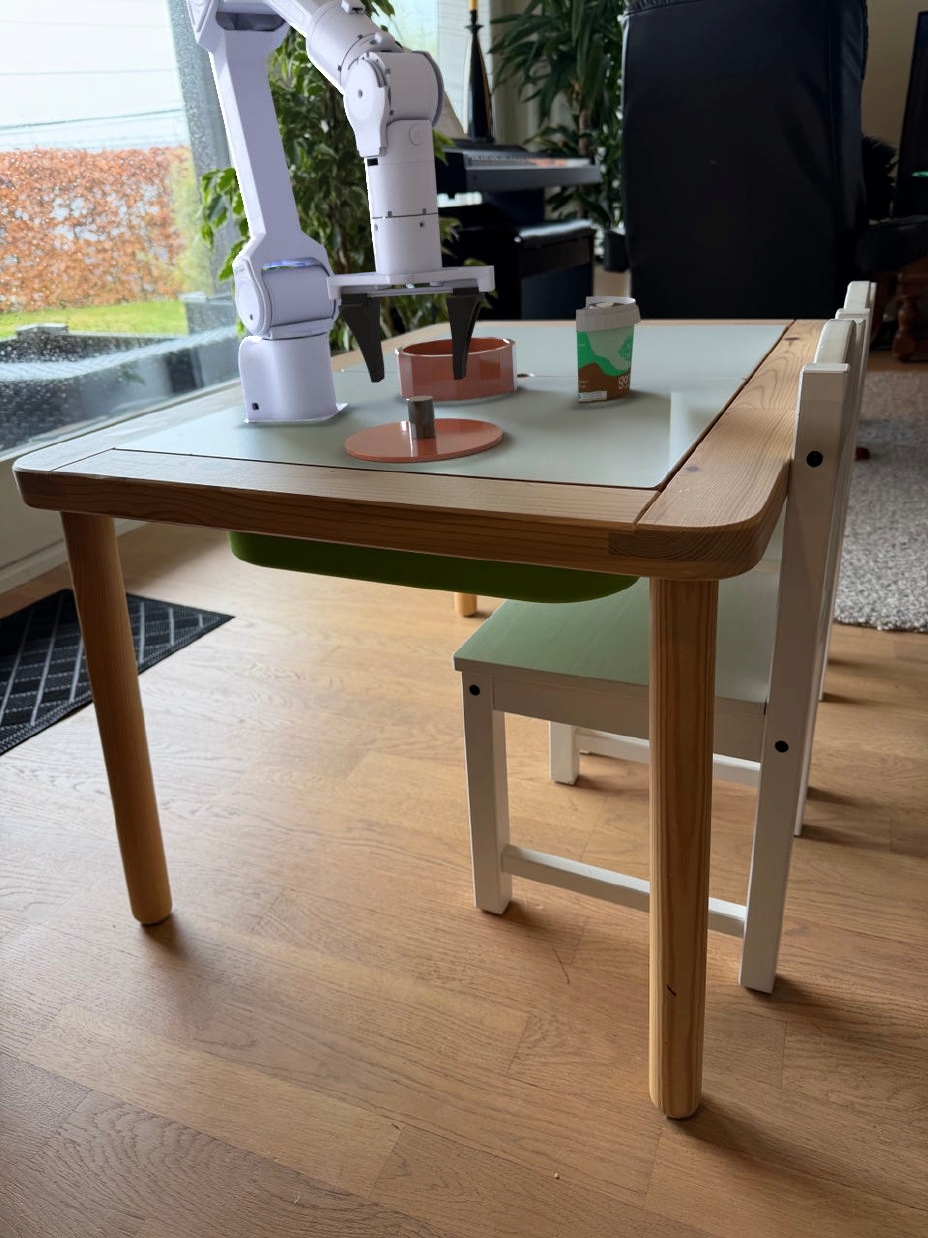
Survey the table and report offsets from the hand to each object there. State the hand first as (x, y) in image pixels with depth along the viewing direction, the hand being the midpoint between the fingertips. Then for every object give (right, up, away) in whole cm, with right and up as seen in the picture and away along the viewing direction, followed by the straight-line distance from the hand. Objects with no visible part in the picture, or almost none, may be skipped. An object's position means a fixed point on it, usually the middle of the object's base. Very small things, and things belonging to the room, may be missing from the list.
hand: (418, 379), depth 86 cm
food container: (+20, +2, +17) cm, 26 cm away
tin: (+3, +5, +25) cm, 26 cm away
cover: (0, -5, +2) cm, 6 cm away
